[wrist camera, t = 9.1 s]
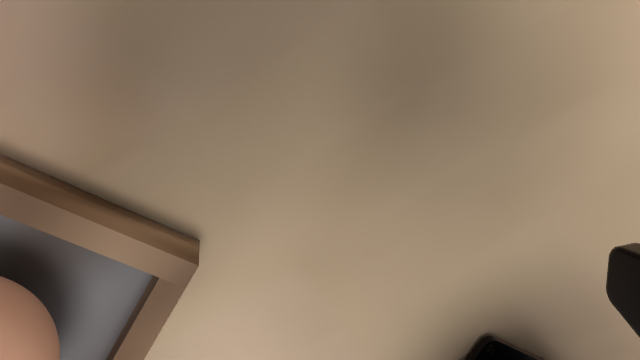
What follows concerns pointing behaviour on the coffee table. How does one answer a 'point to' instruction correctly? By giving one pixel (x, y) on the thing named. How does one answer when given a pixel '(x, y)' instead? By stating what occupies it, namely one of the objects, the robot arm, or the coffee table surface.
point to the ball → (25, 325)
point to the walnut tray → (91, 264)
